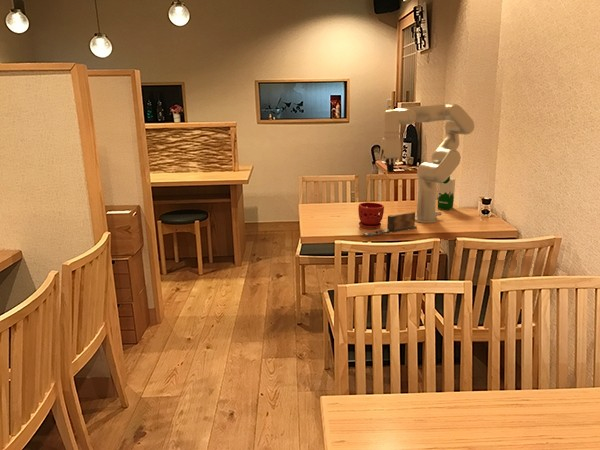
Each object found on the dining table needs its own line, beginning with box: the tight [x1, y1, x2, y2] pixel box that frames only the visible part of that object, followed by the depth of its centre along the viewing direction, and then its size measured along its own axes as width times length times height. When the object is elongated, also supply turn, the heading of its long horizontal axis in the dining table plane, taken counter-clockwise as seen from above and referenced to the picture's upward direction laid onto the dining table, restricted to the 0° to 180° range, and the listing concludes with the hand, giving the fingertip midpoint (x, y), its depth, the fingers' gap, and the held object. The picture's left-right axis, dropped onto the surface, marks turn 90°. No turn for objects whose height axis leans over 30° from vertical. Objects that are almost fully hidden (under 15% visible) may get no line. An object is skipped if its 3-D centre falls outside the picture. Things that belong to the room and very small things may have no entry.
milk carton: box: [437, 175, 456, 211], centre depth 294 cm, size 9×9×20 cm
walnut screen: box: [386, 211, 416, 230], centre depth 253 cm, size 16×2×7 cm, turn 117°
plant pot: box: [358, 201, 385, 230], centre depth 259 cm, size 13×13×12 cm
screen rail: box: [363, 225, 418, 238], centre depth 252 cm, size 31×3×1 cm, turn 117°
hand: (390, 171), depth 253 cm, fingers closed
